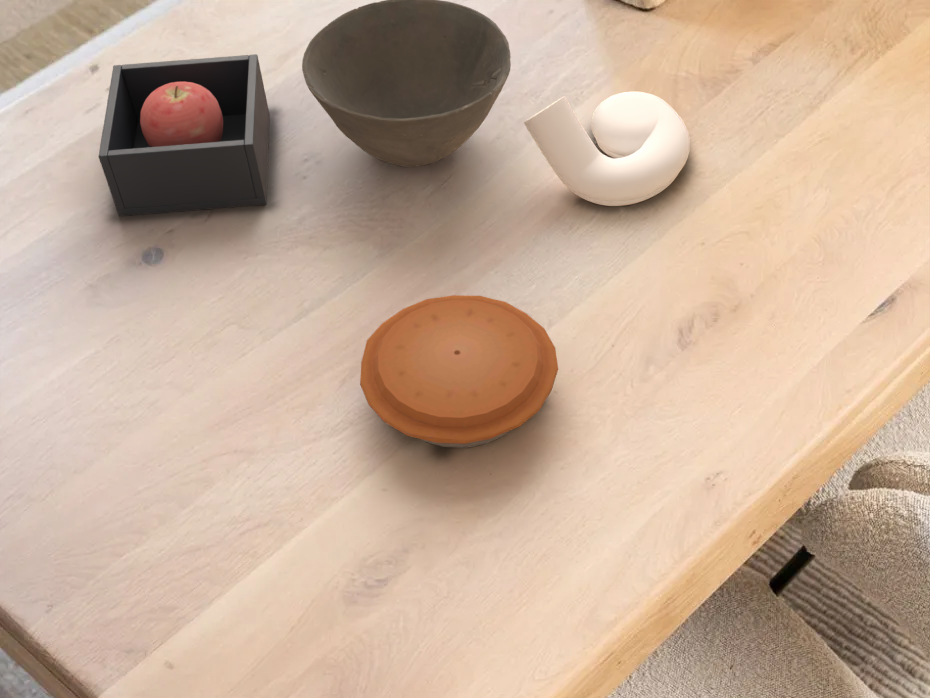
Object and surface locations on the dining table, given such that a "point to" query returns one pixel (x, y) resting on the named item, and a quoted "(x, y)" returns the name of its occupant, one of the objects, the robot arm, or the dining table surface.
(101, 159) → the bin
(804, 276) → the dining table surface
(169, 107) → the apple
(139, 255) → the dining table surface
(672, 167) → the sculpture
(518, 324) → the pie
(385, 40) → the bowl
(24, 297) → the dining table surface
